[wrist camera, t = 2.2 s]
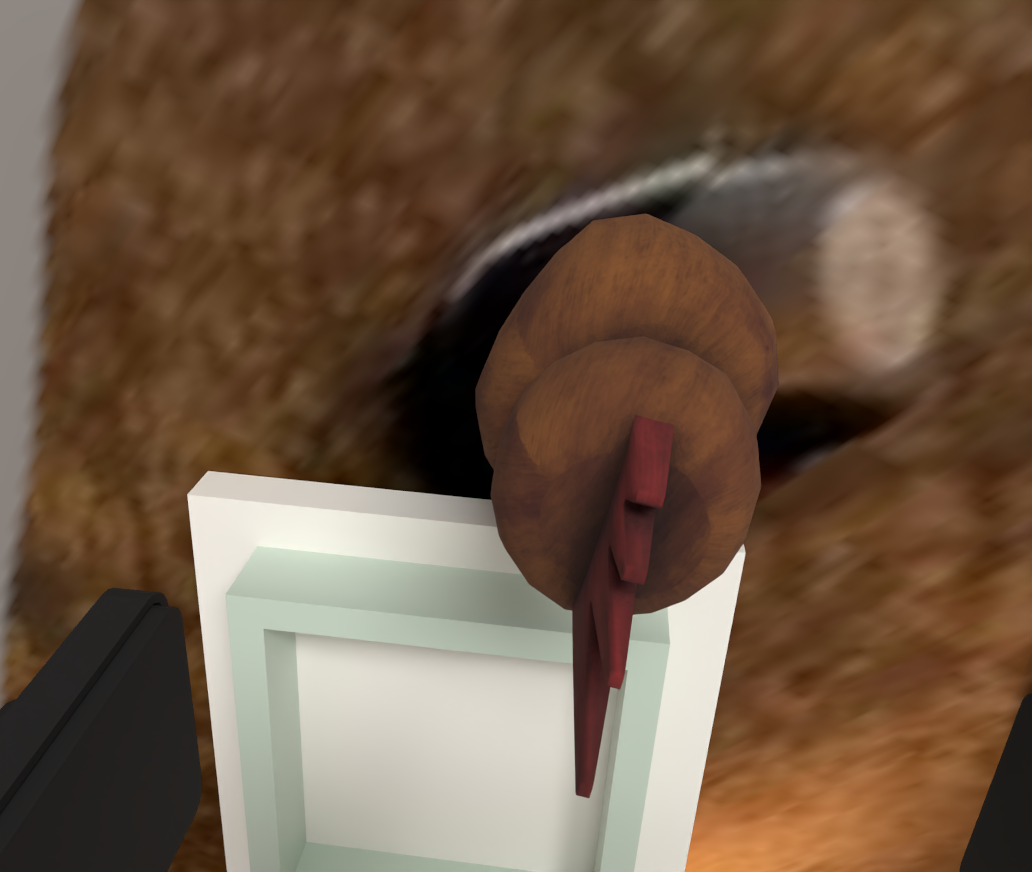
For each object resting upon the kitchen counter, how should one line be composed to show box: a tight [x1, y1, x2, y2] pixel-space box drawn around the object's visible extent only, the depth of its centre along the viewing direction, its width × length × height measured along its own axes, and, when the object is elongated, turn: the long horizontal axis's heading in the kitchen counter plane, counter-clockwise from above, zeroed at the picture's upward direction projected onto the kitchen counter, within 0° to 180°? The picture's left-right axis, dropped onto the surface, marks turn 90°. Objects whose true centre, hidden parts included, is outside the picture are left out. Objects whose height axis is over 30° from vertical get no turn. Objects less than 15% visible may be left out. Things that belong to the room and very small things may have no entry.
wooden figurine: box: [475, 214, 779, 798], centre depth 18 cm, size 7×6×15 cm
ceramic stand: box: [187, 471, 745, 872], centre depth 30 cm, size 16×16×4 cm
